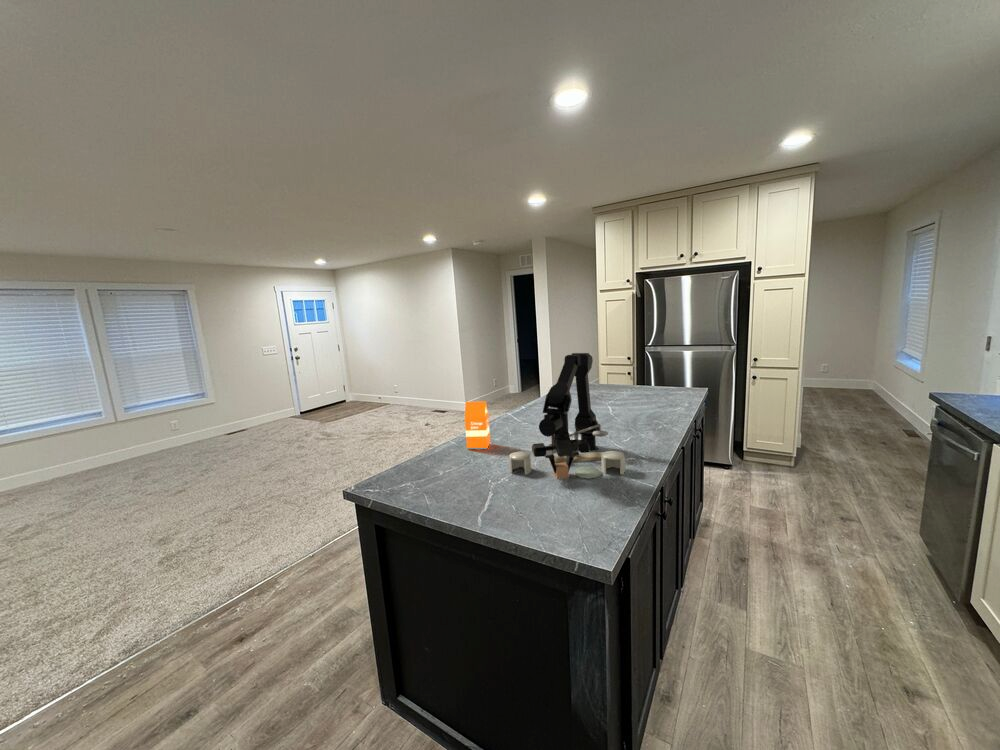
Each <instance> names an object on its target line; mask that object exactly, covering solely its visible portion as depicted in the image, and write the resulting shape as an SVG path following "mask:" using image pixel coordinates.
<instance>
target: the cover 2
mask: <svg viewBox="0 0 1000 750" xmlns="http://www.w3.org/2000/svg"><path fill="white" fill-rule="evenodd" d="M610 467H616V468H615V469H618V468H620V469H619V475H620V474H622V475H624V474H625V473H626V456H625V454H624V453H623V452H620V451H617V450H607V451H604V452H603V453H602V455H601V472H602V473H603V472H604V473H605V475H607V469H611V468H610ZM624 472H625V473H624Z"/></svg>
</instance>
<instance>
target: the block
mask: <svg viewBox="0 0 1000 750" xmlns="http://www.w3.org/2000/svg"><path fill="white" fill-rule="evenodd" d="M555 466H556V473H553V474H554V476H555V478H556V477H557V478H556V479H557V480H560V479H559V478H564V479H569V478H570V473H569V472H570V470H569V467H568V465H567V464H566V463H565V462H564V463H555Z"/></svg>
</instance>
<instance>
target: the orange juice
mask: <svg viewBox="0 0 1000 750" xmlns="http://www.w3.org/2000/svg"><path fill="white" fill-rule="evenodd" d="M464 424H465V438H466V449H467V448H488V446H489V444H490V445H491V434H490V420H489V409H488V407H487V402H486V401H465V411H464ZM489 447H490V446H489ZM488 449H489V448H488Z"/></svg>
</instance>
